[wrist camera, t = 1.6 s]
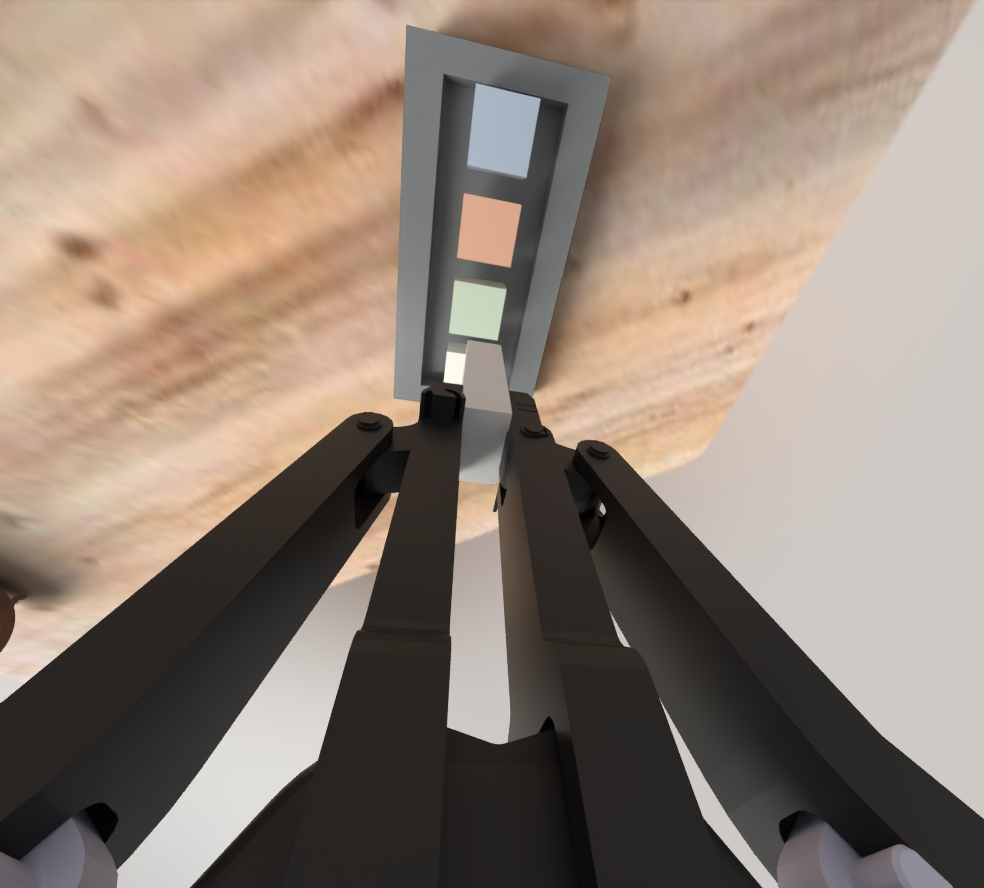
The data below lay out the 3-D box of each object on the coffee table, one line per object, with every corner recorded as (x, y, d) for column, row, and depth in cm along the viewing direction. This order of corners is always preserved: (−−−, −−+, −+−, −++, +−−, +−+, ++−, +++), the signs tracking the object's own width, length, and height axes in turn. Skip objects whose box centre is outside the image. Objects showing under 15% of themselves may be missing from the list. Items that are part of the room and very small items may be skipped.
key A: (467, 168, 24) (467, 165, 22) (475, 94, 22) (475, 83, 20) (522, 179, 25) (526, 177, 23) (535, 108, 23) (540, 98, 21)
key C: (450, 324, 29) (448, 332, 27) (456, 274, 28) (454, 280, 26) (496, 331, 30) (497, 340, 28) (504, 283, 28) (506, 289, 26)
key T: (458, 253, 27) (456, 257, 25) (464, 194, 25) (463, 193, 23) (508, 262, 27) (510, 267, 25) (518, 204, 25) (521, 204, 23)
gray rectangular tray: (401, 380, 36) (393, 398, 33) (416, 50, 24) (406, 25, 21) (522, 397, 38) (527, 416, 34) (594, 93, 26) (611, 76, 22)
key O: (444, 383, 32) (442, 394, 30) (448, 341, 30) (446, 351, 28) (485, 388, 33) (486, 401, 30) (493, 348, 31) (494, 358, 29)
